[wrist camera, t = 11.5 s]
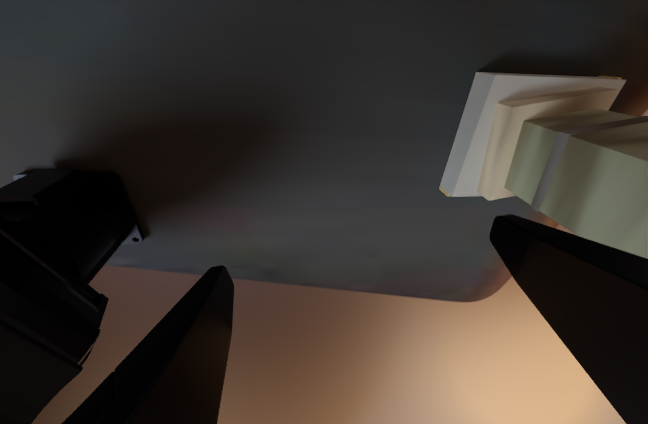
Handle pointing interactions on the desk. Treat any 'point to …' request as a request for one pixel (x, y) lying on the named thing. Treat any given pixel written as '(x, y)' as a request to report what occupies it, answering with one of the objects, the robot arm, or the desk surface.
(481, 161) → the plate
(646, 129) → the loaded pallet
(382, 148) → the desk surface
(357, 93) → the desk surface
